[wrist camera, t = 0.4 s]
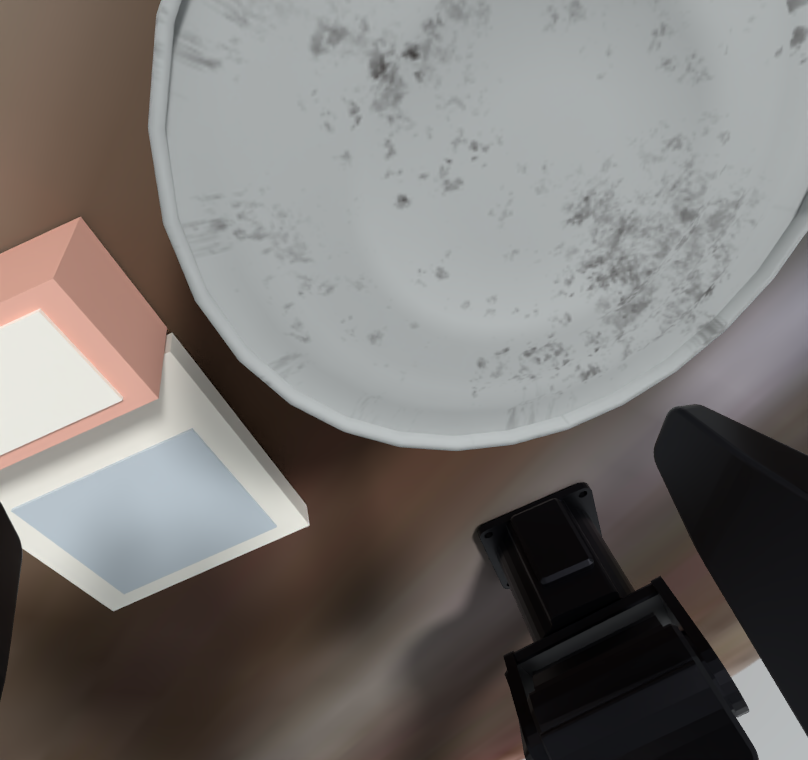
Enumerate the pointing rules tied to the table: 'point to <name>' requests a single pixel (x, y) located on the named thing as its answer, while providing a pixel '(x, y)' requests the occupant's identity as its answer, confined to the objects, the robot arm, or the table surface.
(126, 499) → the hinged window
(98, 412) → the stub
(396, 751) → the table surface
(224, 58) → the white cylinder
